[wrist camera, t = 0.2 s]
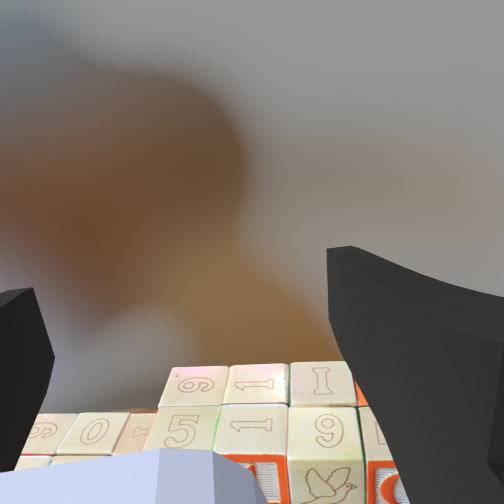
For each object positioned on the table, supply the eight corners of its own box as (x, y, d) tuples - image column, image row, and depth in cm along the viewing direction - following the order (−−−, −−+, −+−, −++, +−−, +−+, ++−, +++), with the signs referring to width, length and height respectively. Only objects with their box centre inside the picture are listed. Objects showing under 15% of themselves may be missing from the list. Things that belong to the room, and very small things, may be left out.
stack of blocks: (16, 631, 25) (-68, 456, 21) (69, 523, 31) (13, 367, 26) (436, 655, 22) (451, 458, 18) (410, 531, 28) (416, 357, 23)
